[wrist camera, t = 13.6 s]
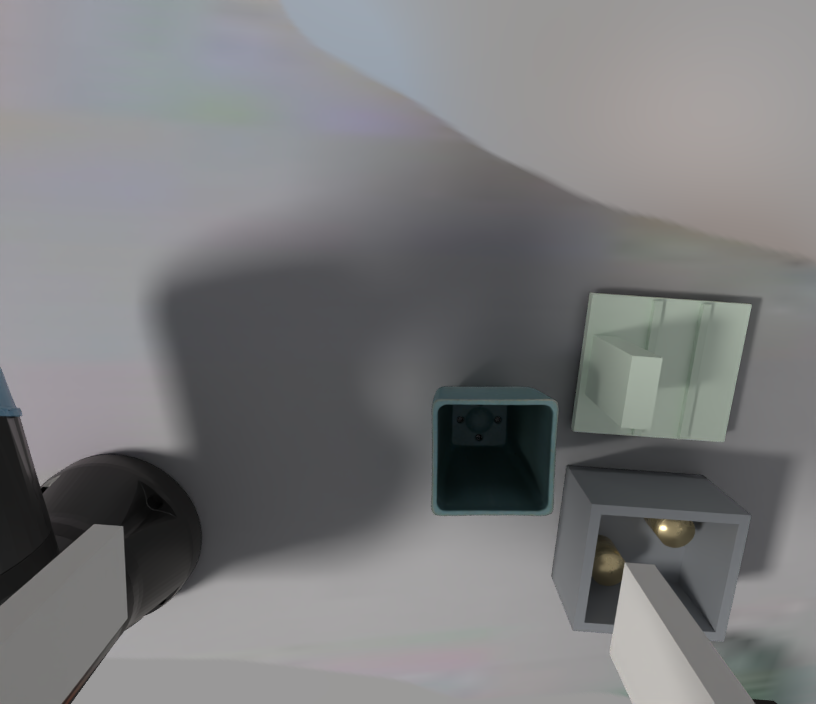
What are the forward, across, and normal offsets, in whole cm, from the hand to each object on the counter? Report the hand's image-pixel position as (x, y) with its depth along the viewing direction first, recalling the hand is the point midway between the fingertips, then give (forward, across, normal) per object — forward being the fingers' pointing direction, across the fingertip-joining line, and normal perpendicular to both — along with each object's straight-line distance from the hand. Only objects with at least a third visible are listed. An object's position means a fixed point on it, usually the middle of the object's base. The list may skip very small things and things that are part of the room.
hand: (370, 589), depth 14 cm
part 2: (+31, +24, -13) cm, 41 cm away
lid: (+31, +21, 0) cm, 37 cm away
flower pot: (+32, +7, -6) cm, 33 cm away
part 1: (+31, +18, -17) cm, 40 cm away
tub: (+32, +21, -15) cm, 41 cm away
